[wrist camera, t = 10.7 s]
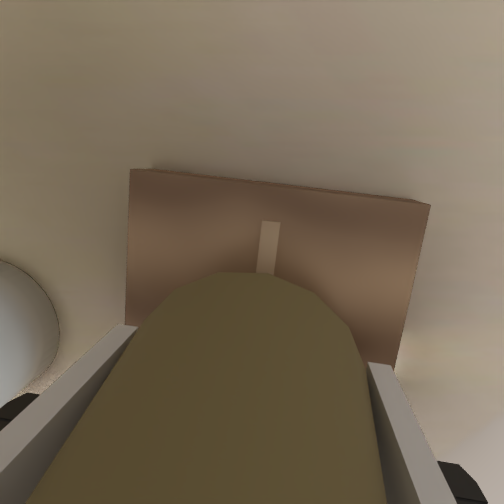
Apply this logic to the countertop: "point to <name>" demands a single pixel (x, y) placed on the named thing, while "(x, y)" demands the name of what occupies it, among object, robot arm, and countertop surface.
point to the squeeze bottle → (227, 407)
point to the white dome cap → (24, 331)
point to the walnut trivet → (277, 246)
